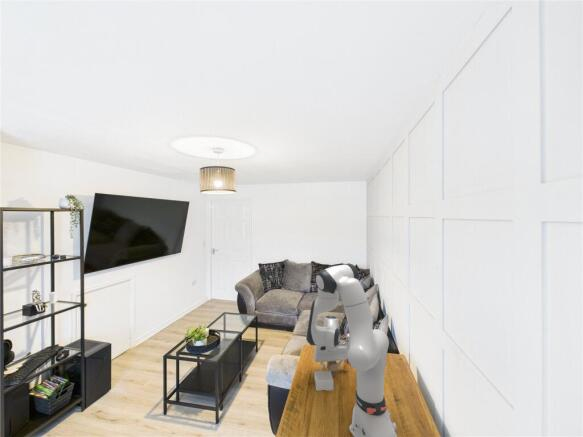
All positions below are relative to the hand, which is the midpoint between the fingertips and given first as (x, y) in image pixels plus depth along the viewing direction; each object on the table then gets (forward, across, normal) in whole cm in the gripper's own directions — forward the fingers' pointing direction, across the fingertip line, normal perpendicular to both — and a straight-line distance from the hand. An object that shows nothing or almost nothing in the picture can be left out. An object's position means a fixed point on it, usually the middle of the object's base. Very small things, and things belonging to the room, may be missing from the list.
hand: (331, 367), depth 143 cm
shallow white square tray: (+3, +7, +9) cm, 12 cm away
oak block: (+3, -1, 0) cm, 3 cm away
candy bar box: (+3, -19, -8) cm, 21 cm away
